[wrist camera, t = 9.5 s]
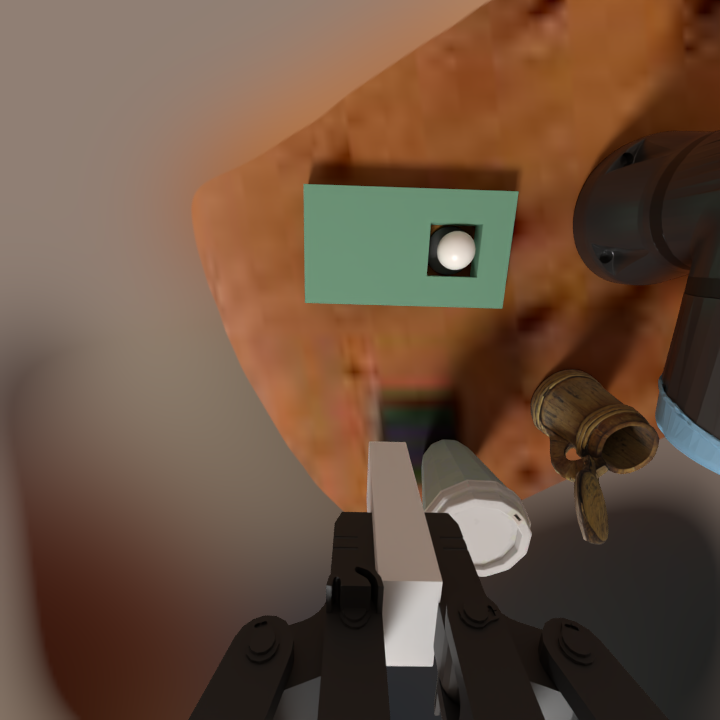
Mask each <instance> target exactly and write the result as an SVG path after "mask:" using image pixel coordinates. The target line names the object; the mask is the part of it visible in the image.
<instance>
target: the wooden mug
mask: <svg viewBox="0 0 720 720" xmlns="http://www.w3.org/2000/svg"><path fill="white" fill-rule="evenodd" d="M531 415H532V418H533V422H534V424H535V426H536V427H537V428H538V429H539V430H540V431H542V432H543V433H544V434H546V435H547V436H549V437H550V455H551V463H552V465H553V467H554V469H555V471H556V472H557V473H559V474H560V475H561V476H562V477H563V478H565V479H567V480H570V481H572V482H574V497H575V507H576V513H577V517H578V522H579V525H580V529H581V532H582V535H583V539H584V540H586V541H588V542H590V543H594V544H603V543H604V542H605V541H606V539H607V536H608V516H607V511H606V505H605V500H604V497H603V494H602V490H601V487H600V484H599V477H600V476H602V475H603V474H604V473H606V472H607V471H608V470H610V471H612V472H614V473H619V474H626V473H630V472H634V471H636V470H638V469H640V468H642V467H644V466H645V465H646V464H648V462H650V461H651V460H652V459H653V457H654V456H655V454H656V451H657V448H658V444H659V437H658V434H657V432H656V431H655V429H654V428H653V427H652V426H650V424H649V423H648V421H647V420H646V419H645V418H644V417H643V416H642V415H641V414H640V413H639V412H638V411H636V410H635V409H634V408H633V407H630V406H628V405H624V404H623V403H621V402H620V401H619V400H617V399H616V398H615V397H614V396H613V395H611V394H610V393H609V392H608V391H606V390H605V389H604V388H603V387H602V385H601V384H600V383H599V382H598V381H597V380H596V379H594V378H593V377H592V376H591V375H589V374H587V373H585V372H583V371H580V370H574V369H570V370H562V371H560V372H557V373H555V374H553V375H551V376H550V377H548V378H547V379H546V380H545V381H544V382H543V383H542V384H541V385H540V386H539V387H538V389H537V390H536V391H535V393H534V395H533V398H532V401H531ZM572 448H575V449H576V453H577V454H578V455H579V457H580V458H582V459H579V460H575V461H570V460H568V459H567V458H566V453H567V452H568V451H569V450H570V449H572Z"/></svg>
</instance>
